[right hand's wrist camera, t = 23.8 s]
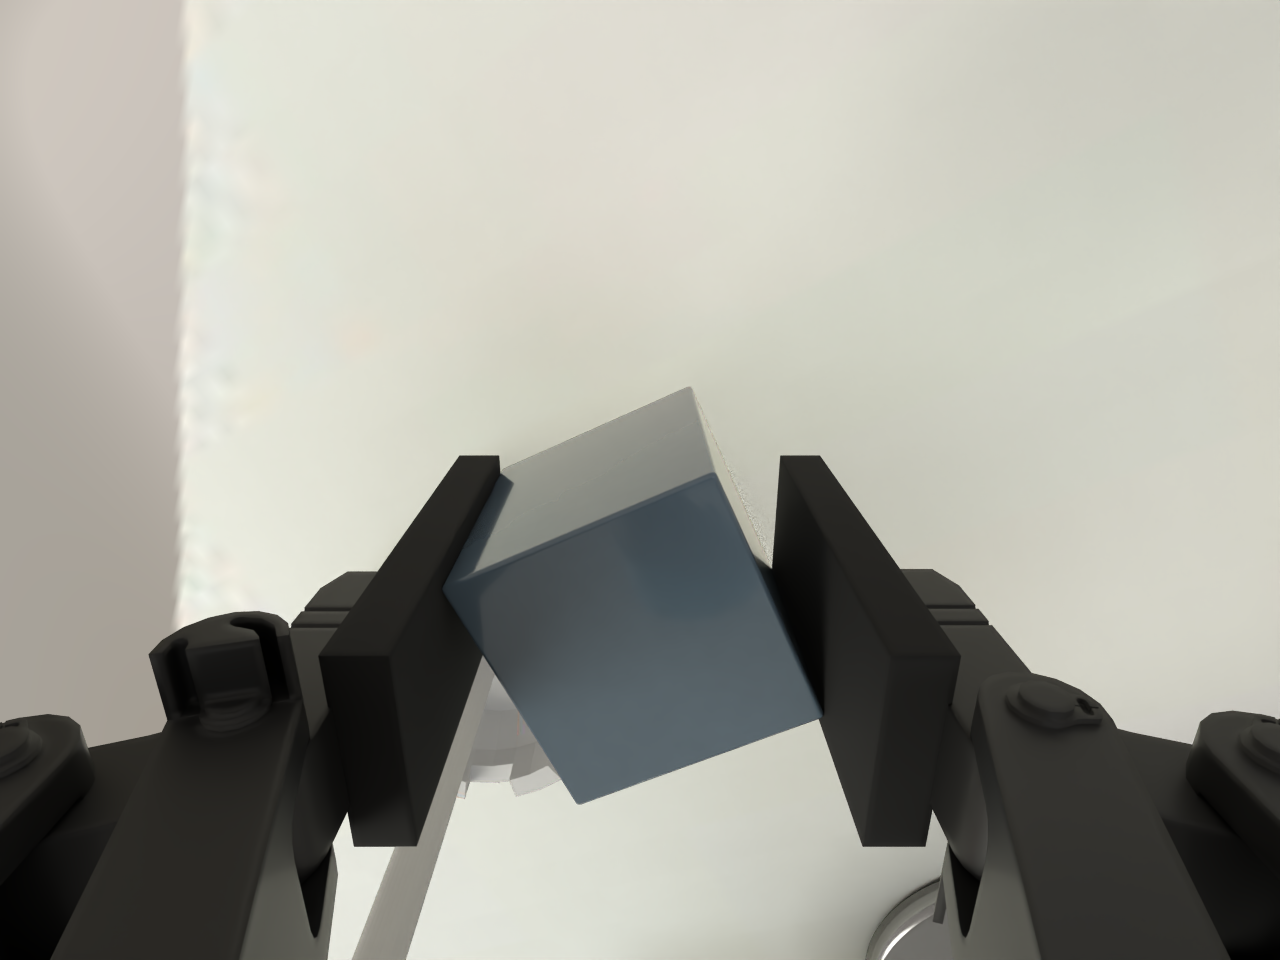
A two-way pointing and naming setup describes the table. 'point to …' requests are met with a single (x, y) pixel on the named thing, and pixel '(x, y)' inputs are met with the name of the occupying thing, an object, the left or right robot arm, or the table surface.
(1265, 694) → the table surface
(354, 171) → the table surface
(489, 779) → the flag stand
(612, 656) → the block
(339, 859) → the table surface
